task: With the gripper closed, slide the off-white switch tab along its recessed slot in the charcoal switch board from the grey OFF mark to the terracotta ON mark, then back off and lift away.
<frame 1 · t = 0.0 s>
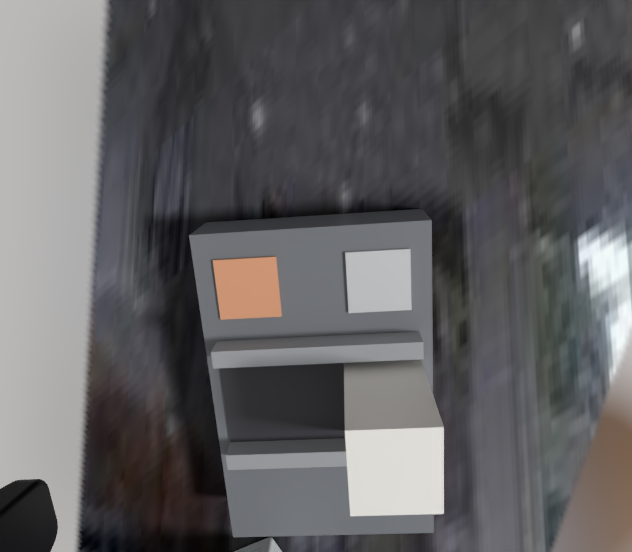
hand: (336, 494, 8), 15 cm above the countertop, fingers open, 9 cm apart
switch tab: (388, 429, 18), point 5 cm above the countertop, slide at 0.0 cm
switch board: (323, 367, 23), on the countertop
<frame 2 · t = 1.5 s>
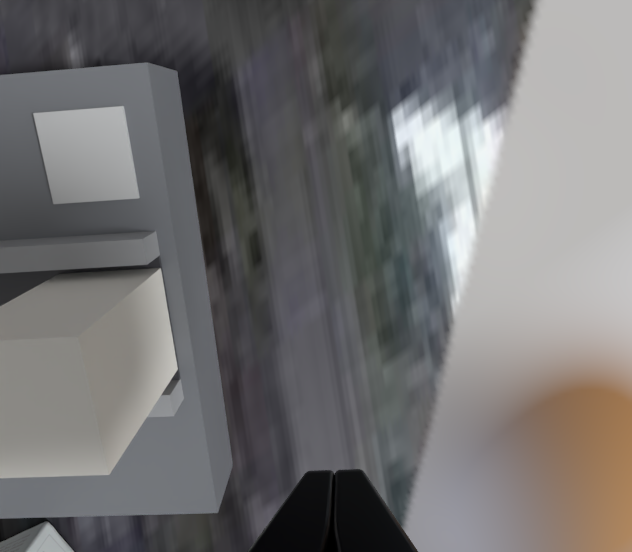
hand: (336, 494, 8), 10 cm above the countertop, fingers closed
switch tab: (80, 359, 13), point 5 cm above the countertop, slide at 0.0 cm
switch board: (80, 297, 18), on the countertop
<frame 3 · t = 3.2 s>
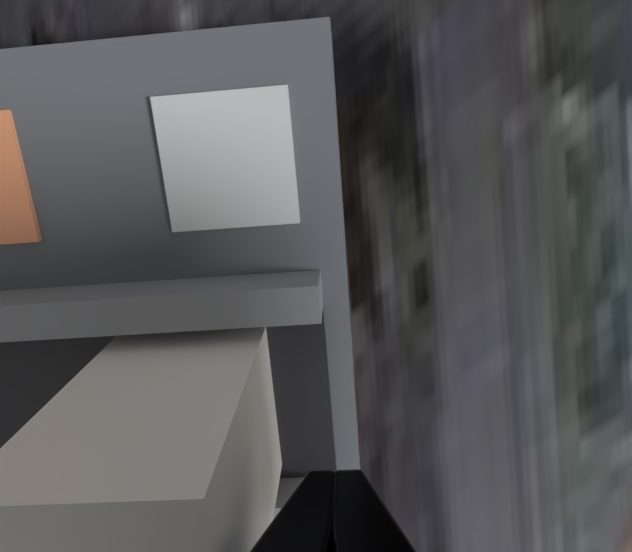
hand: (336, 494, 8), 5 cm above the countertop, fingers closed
switch tab: (164, 479, 8), point 5 cm above the countertop, slide at 1.2 cm, touching gripper
switch board: (177, 351, 13), on the countertop
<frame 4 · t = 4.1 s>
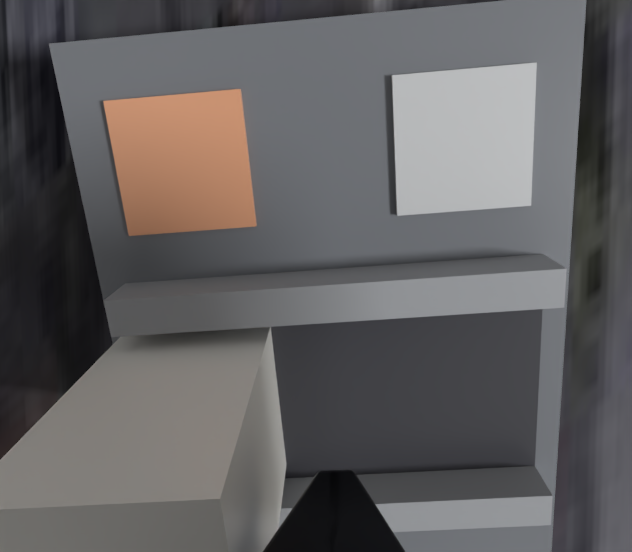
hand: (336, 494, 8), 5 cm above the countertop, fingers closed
switch tab: (172, 480, 8), point 5 cm above the countertop, slide at 5.2 cm, touching gripper
switch board: (337, 342, 13), on the countertop
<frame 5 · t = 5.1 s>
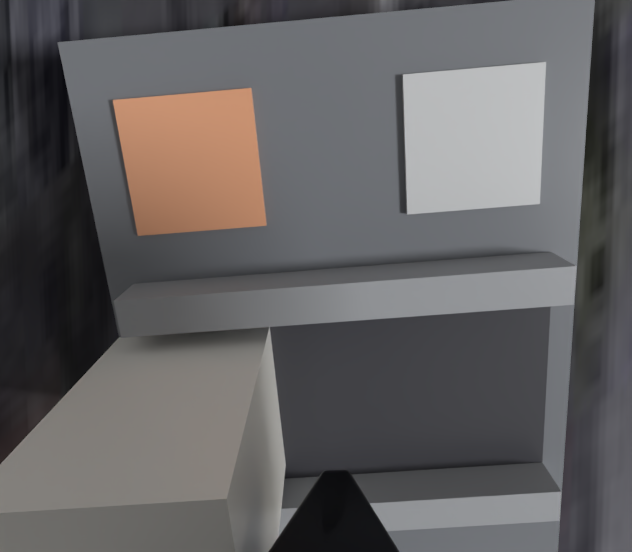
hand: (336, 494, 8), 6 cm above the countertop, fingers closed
switch tab: (173, 482, 8), point 5 cm above the countertop, slide at 5.4 cm, touching gripper
switch board: (343, 341, 13), on the countertop
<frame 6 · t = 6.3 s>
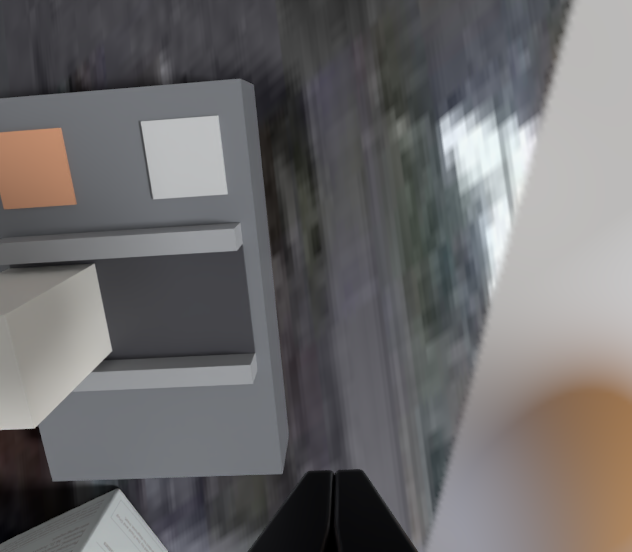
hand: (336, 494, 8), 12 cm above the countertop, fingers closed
switch tab: (20, 338, 15), point 5 cm above the countertop, slide at 5.1 cm
switch board: (159, 283, 20), on the countertop
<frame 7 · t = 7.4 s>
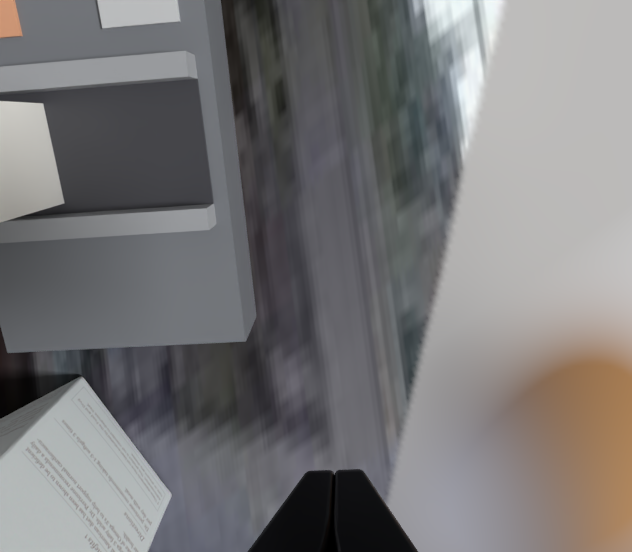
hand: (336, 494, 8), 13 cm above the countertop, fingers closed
supplement box: (71, 465, 24), on the countertop
switch board: (118, 148, 19), on the countertop
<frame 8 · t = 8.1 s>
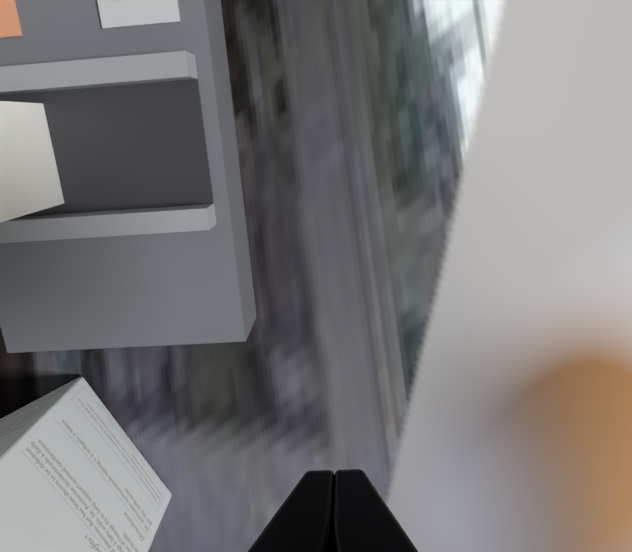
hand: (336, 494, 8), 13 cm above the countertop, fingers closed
supplement box: (71, 465, 24), on the countertop
switch board: (118, 148, 19), on the countertop
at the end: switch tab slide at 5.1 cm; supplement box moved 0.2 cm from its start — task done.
